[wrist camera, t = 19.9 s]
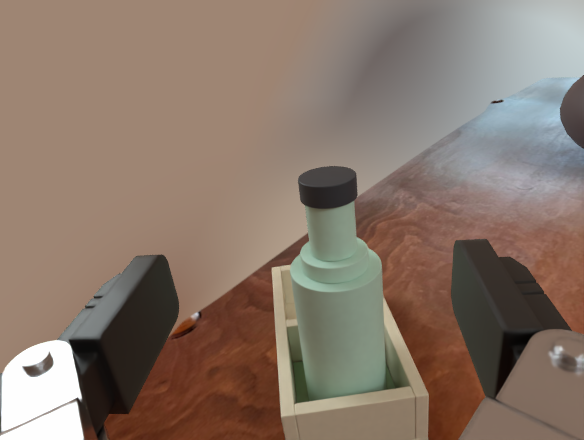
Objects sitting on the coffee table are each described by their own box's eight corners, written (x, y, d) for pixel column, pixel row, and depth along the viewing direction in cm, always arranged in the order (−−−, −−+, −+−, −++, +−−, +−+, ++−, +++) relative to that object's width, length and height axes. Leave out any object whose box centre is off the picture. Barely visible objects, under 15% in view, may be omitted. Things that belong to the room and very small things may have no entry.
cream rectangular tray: (289, 464, 25) (280, 417, 24) (277, 304, 40) (271, 267, 38) (428, 443, 26) (429, 394, 24) (366, 291, 40) (364, 253, 38)
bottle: (312, 431, 26) (279, 202, 20) (304, 369, 31) (275, 167, 25) (396, 419, 26) (390, 186, 20) (375, 358, 31) (365, 154, 25)
